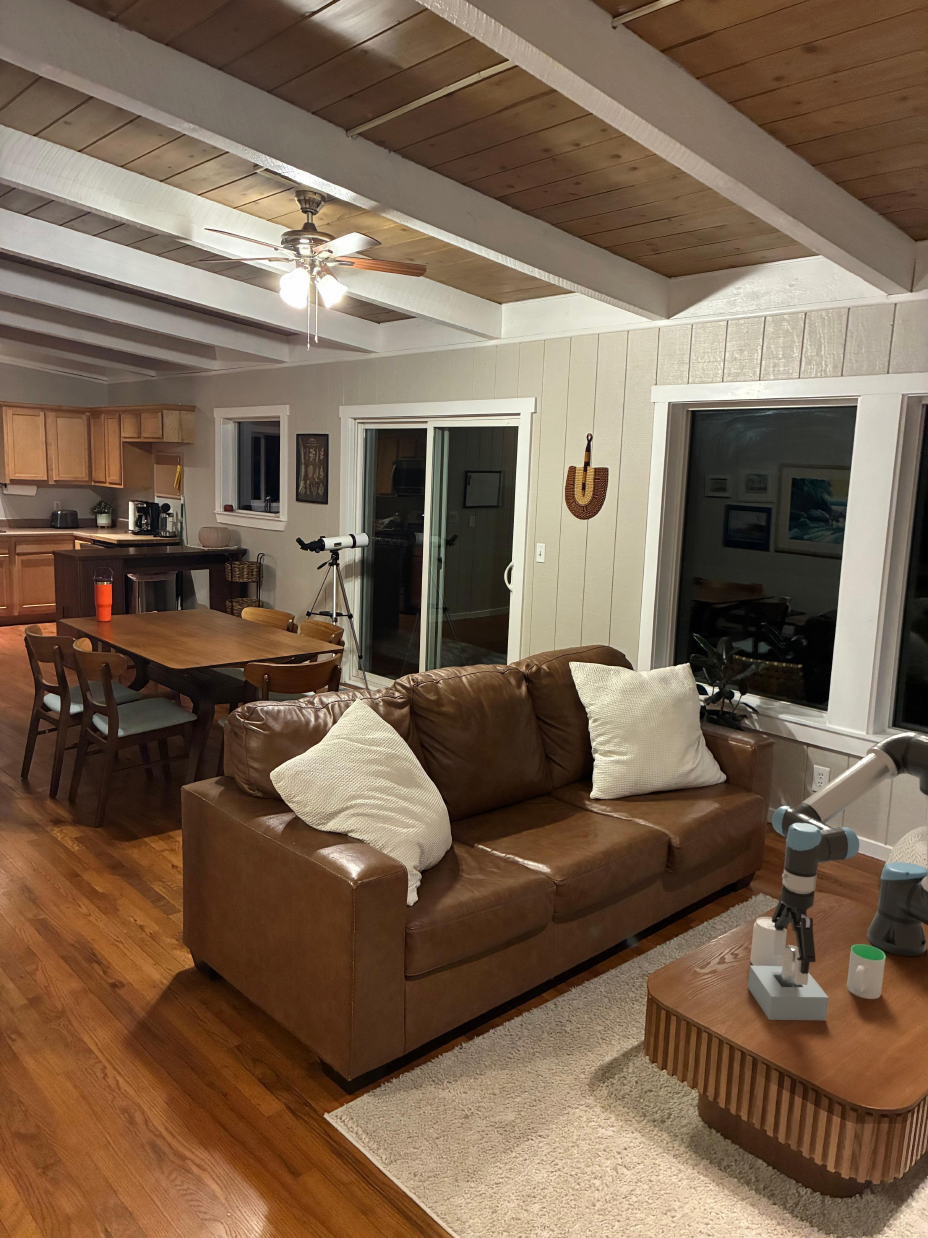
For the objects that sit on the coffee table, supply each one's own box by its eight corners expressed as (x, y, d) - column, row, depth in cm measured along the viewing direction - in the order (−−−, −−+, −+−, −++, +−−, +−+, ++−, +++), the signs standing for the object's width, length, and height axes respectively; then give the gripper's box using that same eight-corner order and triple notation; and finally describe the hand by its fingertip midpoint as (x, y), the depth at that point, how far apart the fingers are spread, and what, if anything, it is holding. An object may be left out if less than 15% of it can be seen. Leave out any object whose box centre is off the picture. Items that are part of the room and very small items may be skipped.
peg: (790, 997, 227) (798, 945, 225) (796, 1006, 223) (804, 954, 221) (774, 996, 227) (782, 944, 224) (781, 1006, 223) (788, 953, 221)
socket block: (801, 988, 232) (803, 966, 231) (825, 1020, 218) (828, 997, 218) (747, 987, 231) (750, 965, 230) (768, 1020, 218) (771, 996, 217)
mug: (874, 1010, 224) (879, 970, 222) (840, 998, 228) (844, 959, 227) (883, 989, 234) (888, 951, 232) (850, 978, 238) (854, 941, 237)
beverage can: (777, 959, 246) (782, 917, 245) (785, 974, 238) (789, 932, 237) (747, 956, 247) (751, 914, 245) (753, 971, 239) (758, 929, 237)
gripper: (763, 865, 232) (755, 943, 236) (805, 911, 208) (795, 997, 211) (792, 866, 233) (784, 943, 236) (836, 912, 208) (827, 997, 211)
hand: (789, 969), depth 224 cm, fingers open, 13 cm apart
